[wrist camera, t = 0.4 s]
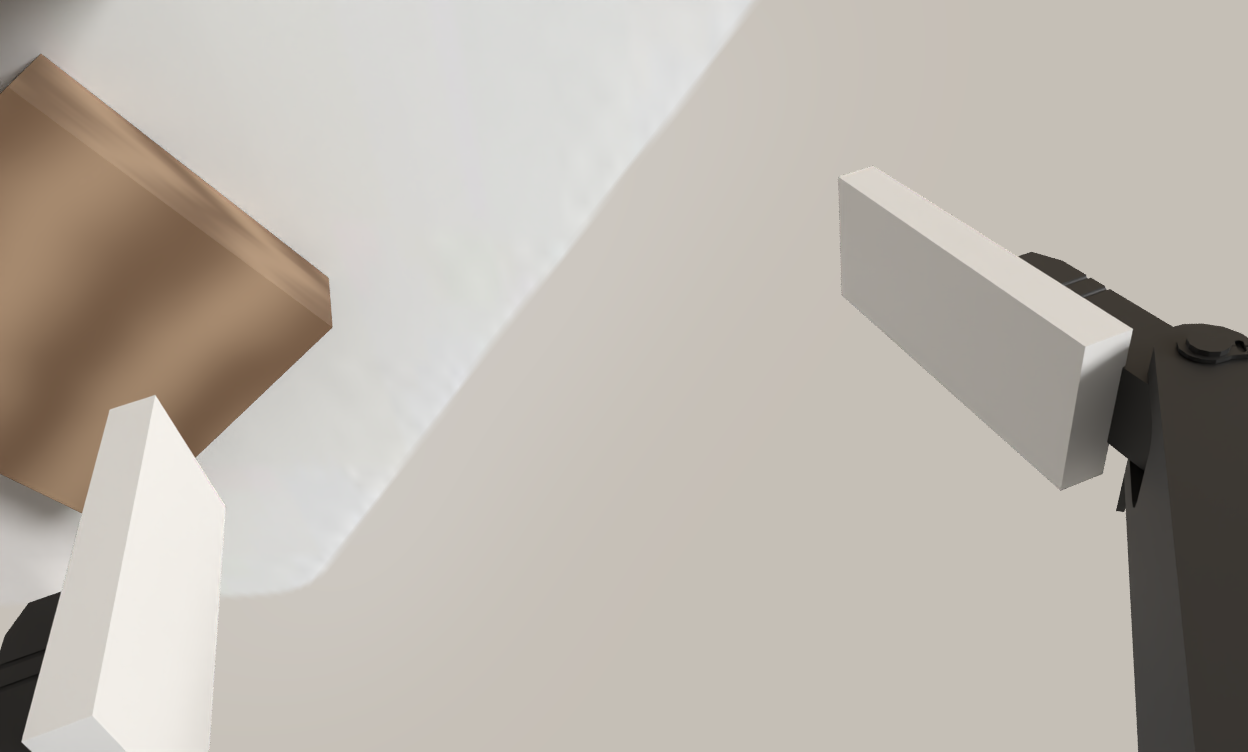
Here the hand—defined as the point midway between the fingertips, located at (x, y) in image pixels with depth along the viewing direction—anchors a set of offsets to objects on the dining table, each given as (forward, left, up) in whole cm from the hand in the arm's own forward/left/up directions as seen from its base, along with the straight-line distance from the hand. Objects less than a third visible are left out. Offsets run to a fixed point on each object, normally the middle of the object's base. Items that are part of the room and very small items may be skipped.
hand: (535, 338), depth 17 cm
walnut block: (-2, -17, -26) cm, 31 cm away
